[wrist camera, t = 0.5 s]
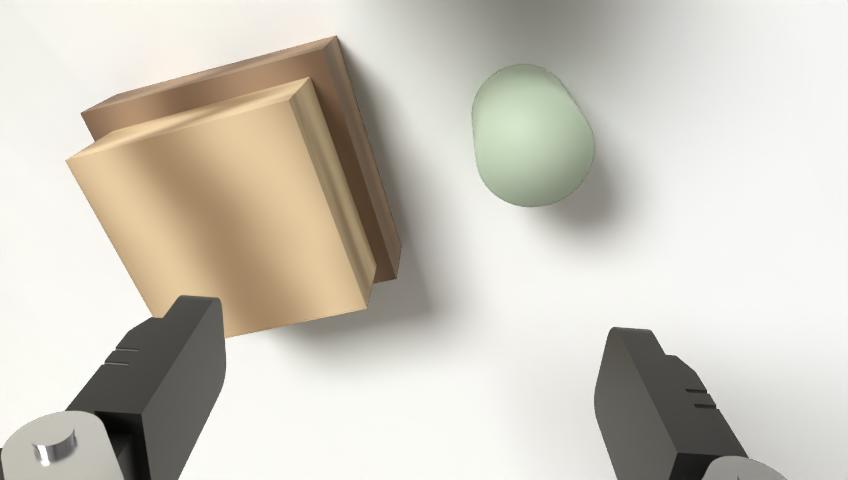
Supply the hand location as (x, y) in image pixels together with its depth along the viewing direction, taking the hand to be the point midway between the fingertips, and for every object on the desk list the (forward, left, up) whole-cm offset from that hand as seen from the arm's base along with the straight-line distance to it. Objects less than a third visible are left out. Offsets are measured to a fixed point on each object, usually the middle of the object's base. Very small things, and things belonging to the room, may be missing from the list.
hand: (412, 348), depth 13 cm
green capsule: (-4, +2, -21) cm, 21 cm away
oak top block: (+10, +2, -17) cm, 20 cm away
